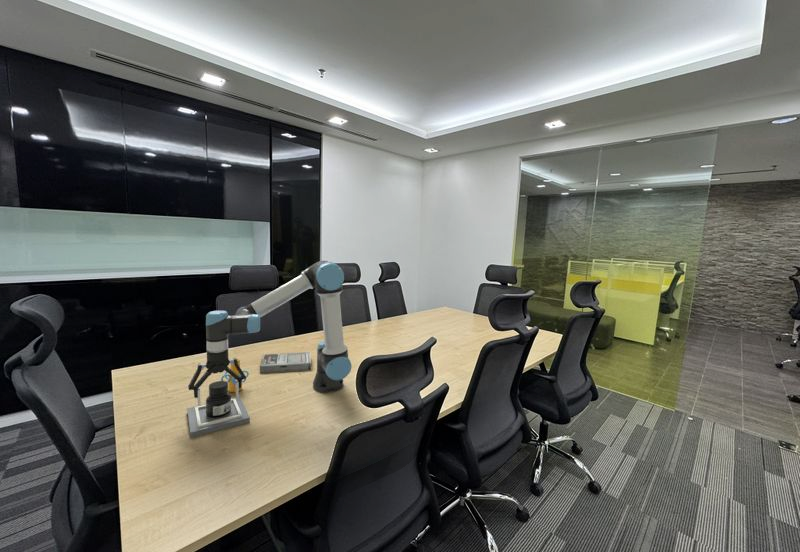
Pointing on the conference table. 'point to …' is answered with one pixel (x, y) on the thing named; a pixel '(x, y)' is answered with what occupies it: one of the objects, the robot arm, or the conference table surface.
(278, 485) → the conference table surface
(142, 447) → the conference table surface
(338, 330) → the robot arm
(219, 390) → the ink bottle
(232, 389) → the orange post with loops
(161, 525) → the conference table surface
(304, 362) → the hard drive
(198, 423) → the base plate
